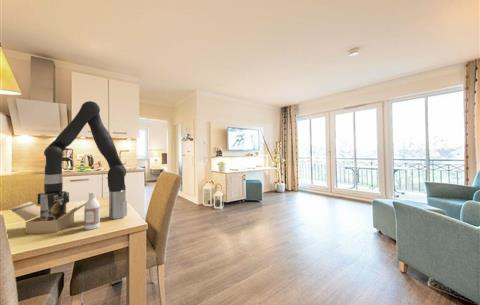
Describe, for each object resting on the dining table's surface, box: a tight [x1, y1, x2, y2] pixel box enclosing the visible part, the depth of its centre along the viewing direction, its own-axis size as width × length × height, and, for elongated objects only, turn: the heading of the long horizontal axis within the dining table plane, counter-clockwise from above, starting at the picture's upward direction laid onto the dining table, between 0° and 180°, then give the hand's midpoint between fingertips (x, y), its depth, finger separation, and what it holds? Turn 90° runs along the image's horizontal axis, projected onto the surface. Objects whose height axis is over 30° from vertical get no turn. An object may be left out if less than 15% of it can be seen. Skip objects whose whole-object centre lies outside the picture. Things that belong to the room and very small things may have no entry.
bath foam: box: [83, 191, 101, 231], centre depth 111 cm, size 7×7×20 cm
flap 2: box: [59, 202, 86, 219], centre depth 112 cm, size 1×12×10 cm
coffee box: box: [39, 190, 67, 221], centre depth 111 cm, size 9×6×16 cm
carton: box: [25, 212, 75, 235], centre depth 111 cm, size 14×14×6 cm
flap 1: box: [9, 201, 40, 222], centre depth 109 cm, size 1×12×10 cm
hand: (53, 211), depth 111 cm, fingers closed on coffee box, 7 cm apart
